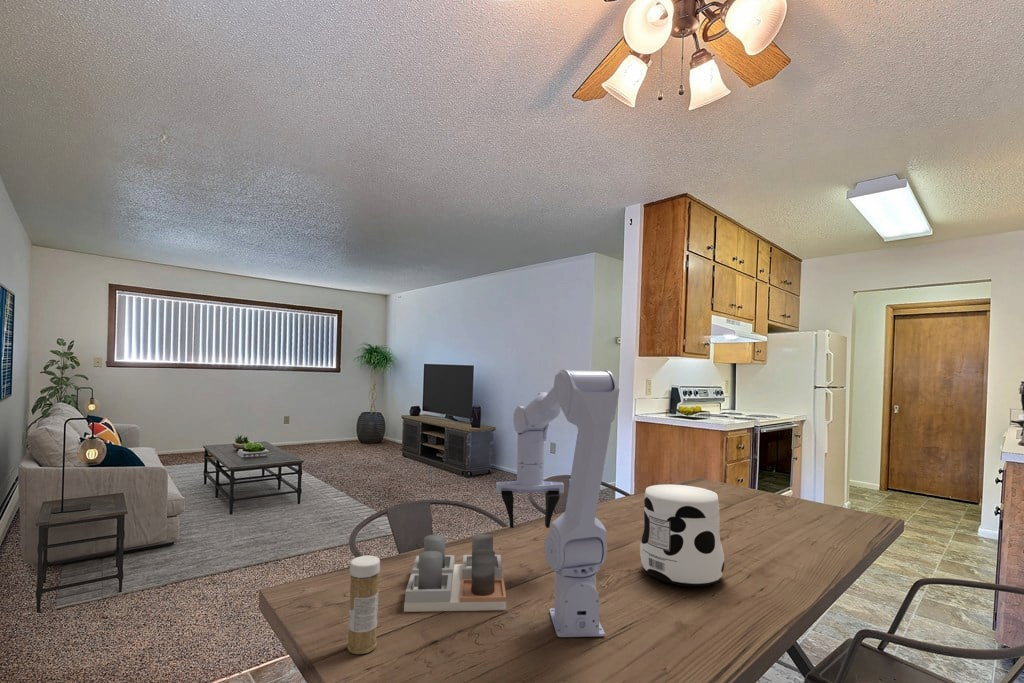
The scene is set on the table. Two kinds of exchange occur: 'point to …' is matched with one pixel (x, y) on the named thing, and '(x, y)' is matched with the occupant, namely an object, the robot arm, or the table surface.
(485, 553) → the dark gray cylinder
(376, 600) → the sprinkles bottle
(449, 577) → the white cylinder holder tray
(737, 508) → the table surface
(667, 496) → the milk container
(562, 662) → the table surface
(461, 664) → the table surface
